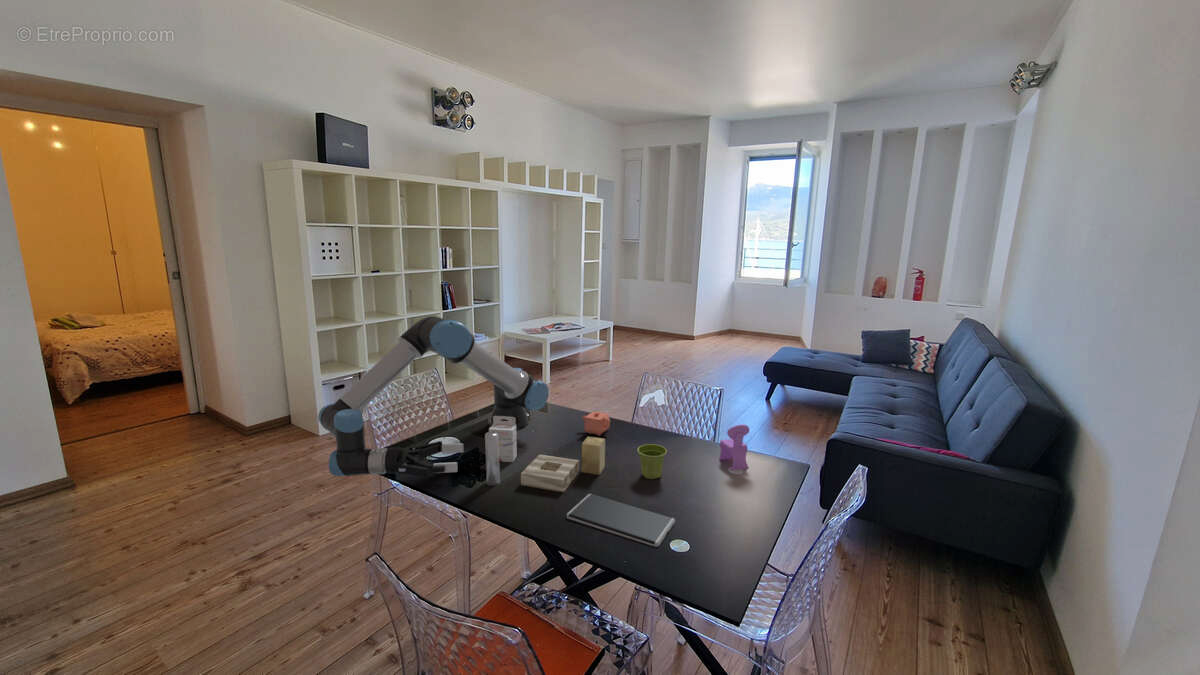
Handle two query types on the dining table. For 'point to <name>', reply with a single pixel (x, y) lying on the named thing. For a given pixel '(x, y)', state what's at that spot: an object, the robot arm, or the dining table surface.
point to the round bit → (492, 458)
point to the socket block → (550, 473)
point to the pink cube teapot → (596, 422)
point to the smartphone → (622, 519)
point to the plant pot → (651, 460)
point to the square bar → (593, 455)
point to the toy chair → (735, 447)
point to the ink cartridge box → (505, 437)
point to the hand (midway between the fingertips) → (460, 457)
